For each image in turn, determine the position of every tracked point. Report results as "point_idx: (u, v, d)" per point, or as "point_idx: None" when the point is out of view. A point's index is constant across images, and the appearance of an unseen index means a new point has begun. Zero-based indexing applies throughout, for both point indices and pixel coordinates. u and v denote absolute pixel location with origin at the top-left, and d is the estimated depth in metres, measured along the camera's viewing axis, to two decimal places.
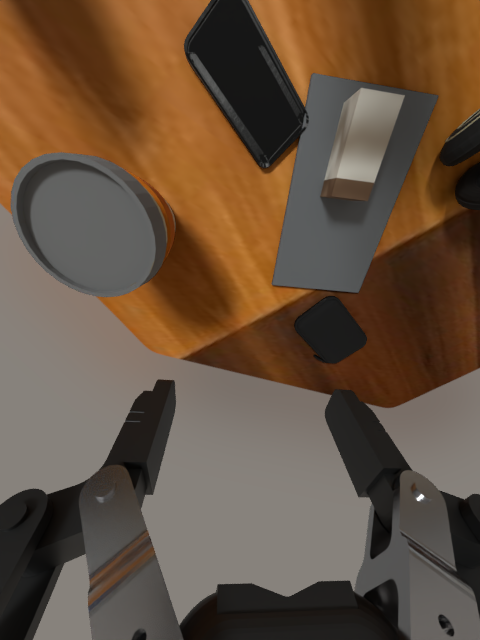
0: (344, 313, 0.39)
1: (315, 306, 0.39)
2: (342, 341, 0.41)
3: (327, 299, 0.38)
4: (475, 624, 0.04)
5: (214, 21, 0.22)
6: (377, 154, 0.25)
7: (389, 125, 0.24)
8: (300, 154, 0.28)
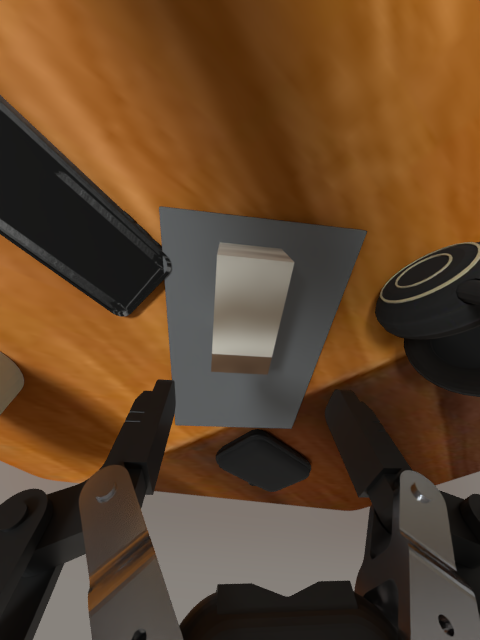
0: (274, 454, 0.30)
1: (237, 444, 0.30)
2: (277, 477, 0.33)
3: (251, 439, 0.29)
4: (475, 624, 0.04)
5: None
6: (268, 328, 0.16)
7: (278, 297, 0.15)
8: (170, 301, 0.19)
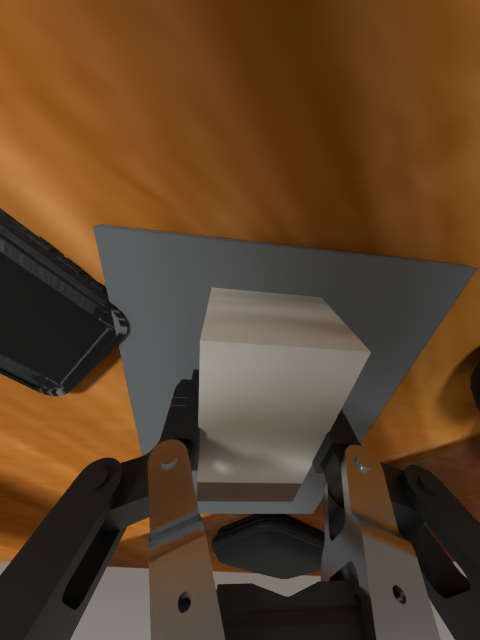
0: (291, 549, 0.22)
1: (241, 534, 0.22)
2: (293, 568, 0.25)
3: (260, 530, 0.21)
4: (418, 579, 0.05)
5: None
6: (300, 450, 0.09)
7: (326, 407, 0.07)
8: (132, 374, 0.12)
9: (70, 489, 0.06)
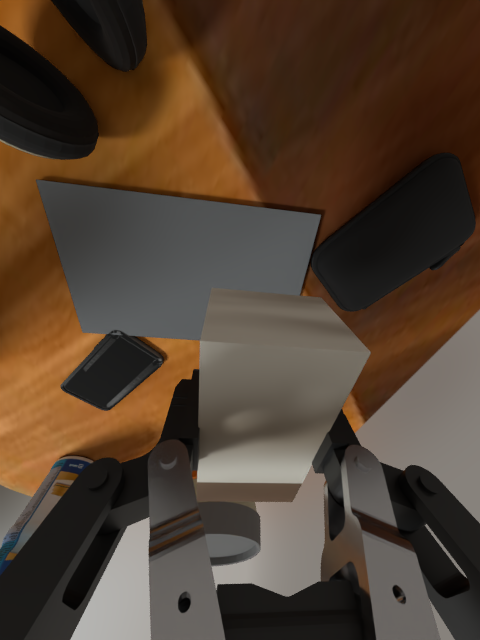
0: (350, 237, 0.20)
1: (324, 285, 0.24)
2: (419, 228, 0.20)
3: (315, 269, 0.22)
4: (418, 579, 0.05)
5: (85, 395, 0.32)
6: (300, 450, 0.09)
7: (326, 407, 0.07)
8: (144, 333, 0.27)
9: (70, 489, 0.06)
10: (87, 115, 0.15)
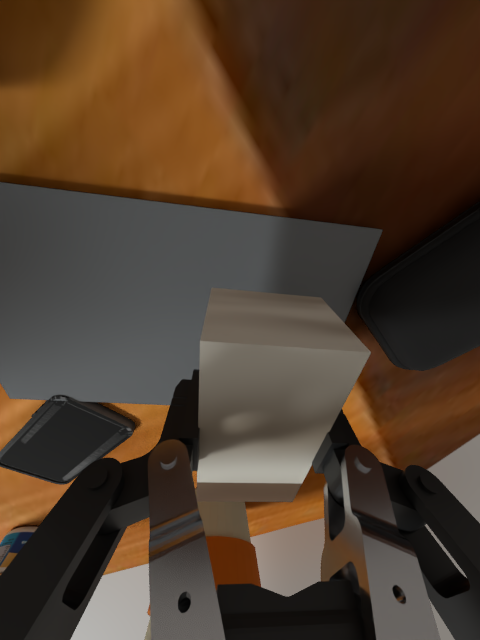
0: (436, 267, 0.12)
1: (375, 334, 0.15)
2: None
3: (365, 312, 0.14)
4: (418, 578, 0.05)
5: (31, 469, 0.23)
6: (300, 450, 0.09)
7: (326, 407, 0.07)
8: (102, 399, 0.18)
9: (71, 489, 0.06)
10: None
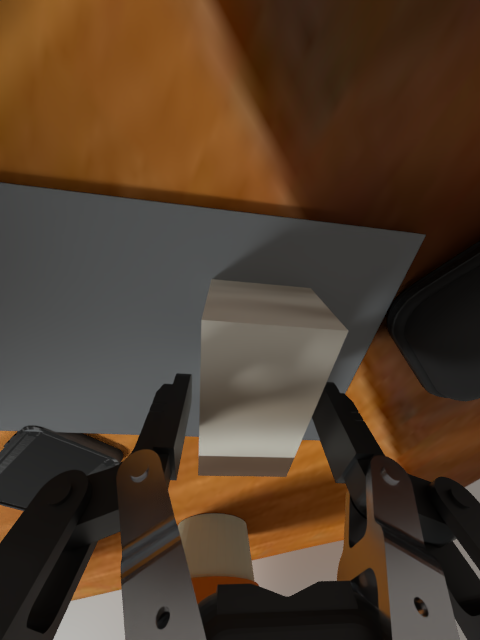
0: None
1: (408, 359, 0.12)
2: None
3: (399, 334, 0.11)
4: (444, 598, 0.05)
5: (9, 500, 0.21)
6: (291, 424, 0.10)
7: (312, 382, 0.08)
8: (83, 429, 0.16)
9: (29, 509, 0.05)
10: None
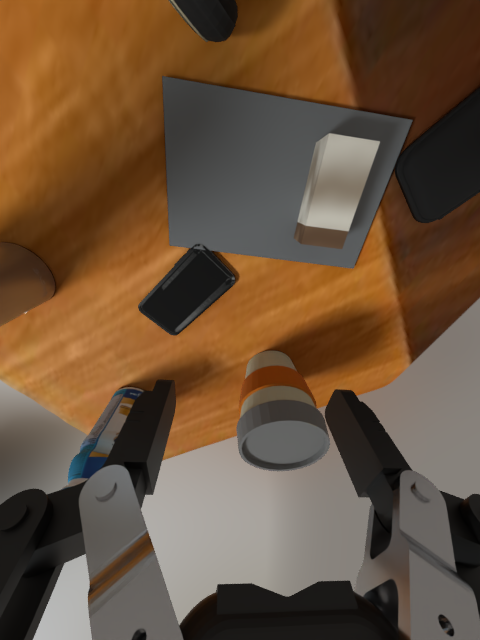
0: (443, 132, 0.21)
1: (405, 191, 0.25)
2: None
3: (400, 172, 0.24)
4: (475, 624, 0.04)
5: (158, 317, 0.34)
6: (351, 202, 0.23)
7: (363, 172, 0.21)
8: (225, 249, 0.29)
9: None
10: None
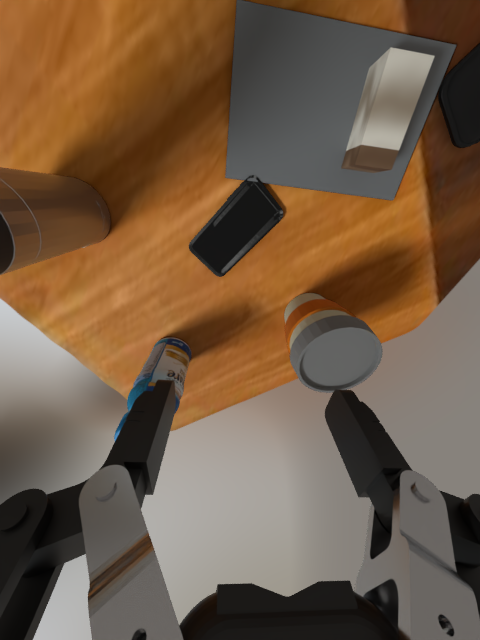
0: None
1: (447, 115, 0.27)
2: None
3: (444, 94, 0.26)
4: (475, 625, 0.04)
5: (207, 257, 0.36)
6: (403, 119, 0.25)
7: (417, 88, 0.24)
8: (276, 181, 0.31)
9: None
10: None
